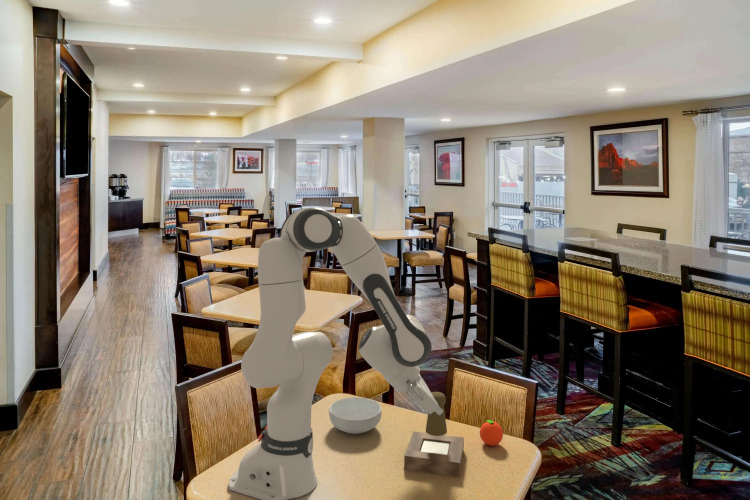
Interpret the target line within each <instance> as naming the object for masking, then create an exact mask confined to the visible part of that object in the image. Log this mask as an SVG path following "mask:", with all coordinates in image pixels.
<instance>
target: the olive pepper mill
mask: <svg viewBox="0 0 750 500" xmlns="http://www.w3.org/2000/svg"><path fill="white" fill-rule="evenodd" d="M431 393H432V395H433V397H434V398H435V400H436V401H437V403H438V405H439V406H440V407H441V408H442V409H443V413H442V414H441V415H438V414H437V413H436V412H435V411H434V412H433V413H432V414H428V413H427V417H426V418H427V419H426V425H425V433H428V434H429V435H433V436H442V435H446V434H448V430H447V429H448V428H447V427H448V426H447V420H446V411H445V404H446V400H447V399H446V398H447V397H446V396H445V394H444V393H443V392H440V391H433V392H431Z"/></svg>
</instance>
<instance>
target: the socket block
mask: <svg viewBox="0 0 750 500" xmlns="http://www.w3.org/2000/svg"><path fill="white" fill-rule="evenodd" d="M424 440H425V441H433V442H441V443H449V444H450V446H449V451H448V455H445V454H437V453H429V452H421V448H422V445H423V442H424ZM464 442H465V438H464V436H463V437H462V436H456V435H455V436H453V435H446V434H445V435H442V436H433V435H429V434H428V433H426V432H421V431H413V432H412V434H411V436H410V440H409V442H408V445H407V448H406V451H405V452H404V459H403V460H404V461H403V463H404V464H403V470H407V471H413V472H420V473H425V474H426V473H427V474H433V475H434V474H435V475H442V476H449V477H455V478H460V475H461V470H462V461H463V454H464V447H465V446H464Z"/></svg>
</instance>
